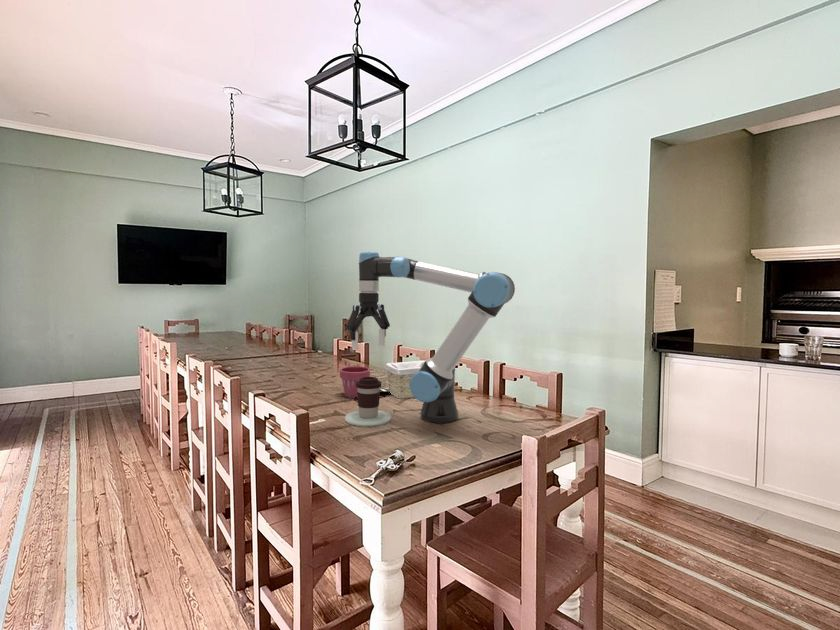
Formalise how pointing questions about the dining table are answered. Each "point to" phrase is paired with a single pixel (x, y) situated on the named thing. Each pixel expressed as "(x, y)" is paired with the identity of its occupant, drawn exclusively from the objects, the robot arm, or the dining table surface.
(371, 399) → the coffee cup
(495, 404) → the dining table surface
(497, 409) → the dining table surface
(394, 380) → the storage basket
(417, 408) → the dining table surface
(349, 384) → the plant pot
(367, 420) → the dish
